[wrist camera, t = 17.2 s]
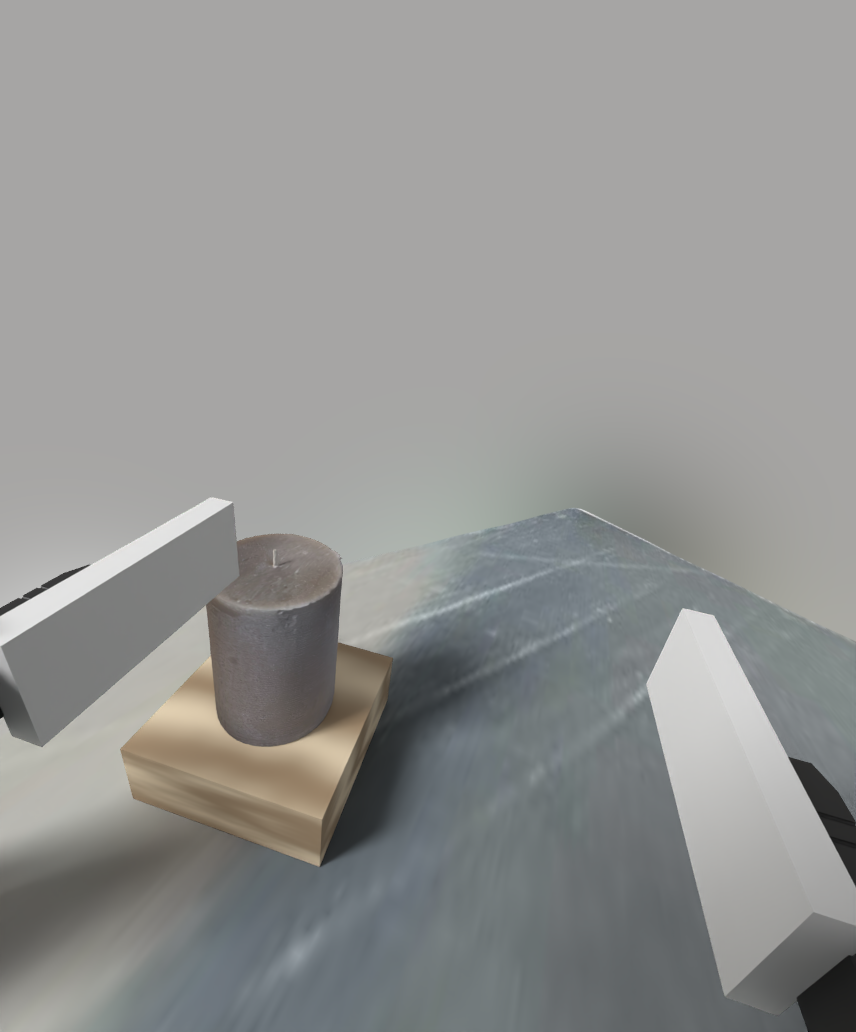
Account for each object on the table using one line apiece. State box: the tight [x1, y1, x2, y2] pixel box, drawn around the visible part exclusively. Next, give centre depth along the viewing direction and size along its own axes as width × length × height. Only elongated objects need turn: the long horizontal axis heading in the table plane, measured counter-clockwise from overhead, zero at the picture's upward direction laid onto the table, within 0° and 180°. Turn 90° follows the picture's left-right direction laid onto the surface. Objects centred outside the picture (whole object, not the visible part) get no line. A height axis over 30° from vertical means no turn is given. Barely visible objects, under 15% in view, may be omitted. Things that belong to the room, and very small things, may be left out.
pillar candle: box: [206, 534, 343, 747], centre depth 35 cm, size 10×10×15 cm
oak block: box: [120, 643, 393, 867], centre depth 40 cm, size 16×16×6 cm
